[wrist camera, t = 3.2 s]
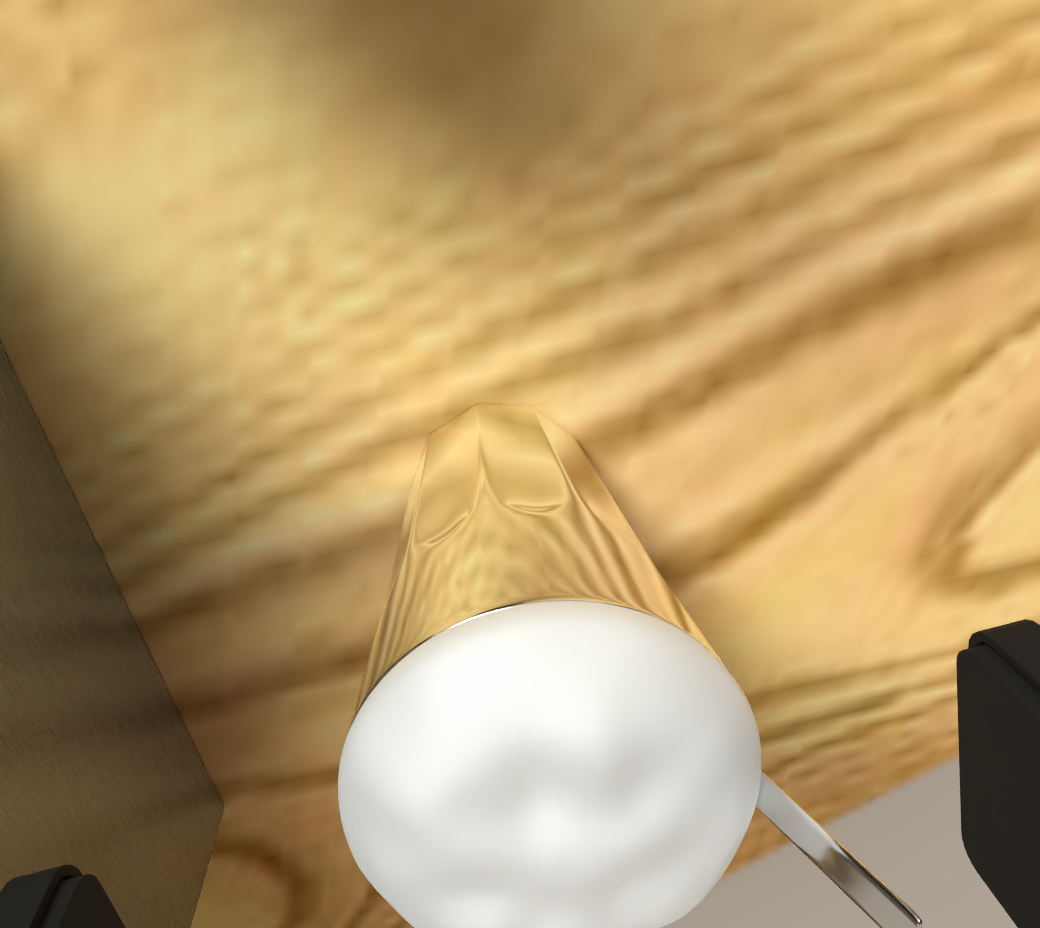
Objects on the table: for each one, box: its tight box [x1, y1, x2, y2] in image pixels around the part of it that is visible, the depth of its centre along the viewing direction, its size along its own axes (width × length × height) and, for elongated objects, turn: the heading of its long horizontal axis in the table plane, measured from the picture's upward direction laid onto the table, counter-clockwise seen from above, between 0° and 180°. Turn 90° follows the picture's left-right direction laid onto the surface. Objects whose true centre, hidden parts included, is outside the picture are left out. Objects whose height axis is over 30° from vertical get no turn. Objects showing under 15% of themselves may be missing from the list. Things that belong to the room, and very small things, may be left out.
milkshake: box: [338, 404, 922, 928], centre depth 12 cm, size 4×5×10 cm
